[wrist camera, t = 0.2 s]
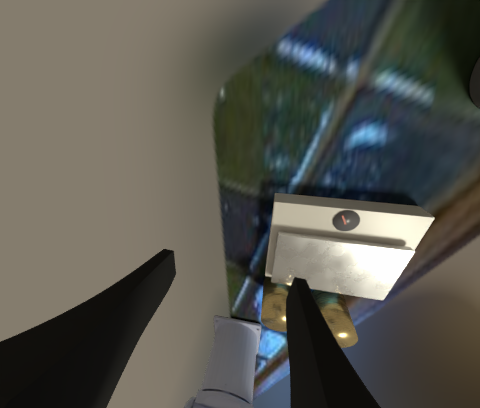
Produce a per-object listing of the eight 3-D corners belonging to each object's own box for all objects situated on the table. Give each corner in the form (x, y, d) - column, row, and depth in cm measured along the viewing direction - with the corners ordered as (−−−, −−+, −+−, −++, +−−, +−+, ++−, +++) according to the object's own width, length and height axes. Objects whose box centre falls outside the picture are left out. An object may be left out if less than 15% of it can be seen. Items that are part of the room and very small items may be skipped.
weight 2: (338, 308, 25) (351, 350, 21) (308, 302, 26) (314, 343, 21) (347, 289, 23) (363, 331, 19) (314, 284, 24) (322, 324, 19)
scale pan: (380, 295, 20) (383, 300, 19) (271, 277, 21) (271, 282, 21) (410, 247, 16) (414, 251, 16) (278, 230, 18) (278, 234, 17)
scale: (376, 279, 22) (386, 296, 20) (265, 263, 23) (265, 277, 22) (418, 206, 17) (436, 218, 15) (274, 192, 19) (274, 202, 17)
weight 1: (291, 295, 26) (294, 334, 21) (262, 290, 26) (259, 327, 22) (296, 275, 24) (300, 314, 19) (265, 271, 24) (262, 307, 20)
